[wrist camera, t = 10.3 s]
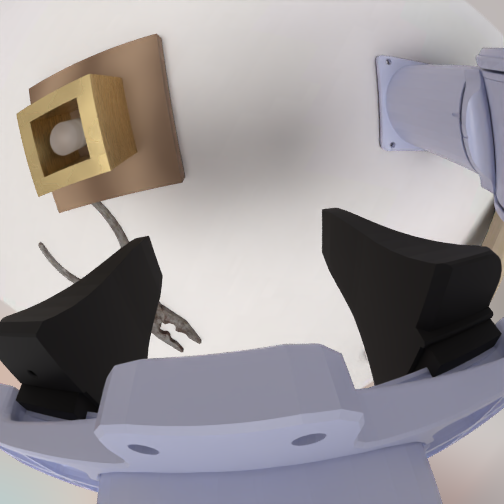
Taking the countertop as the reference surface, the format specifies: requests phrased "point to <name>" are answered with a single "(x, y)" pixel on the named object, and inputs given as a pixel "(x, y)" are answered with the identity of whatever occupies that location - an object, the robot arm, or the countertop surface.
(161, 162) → the post board
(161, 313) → the pliers
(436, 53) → the countertop surface
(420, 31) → the countertop surface
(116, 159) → the collar
